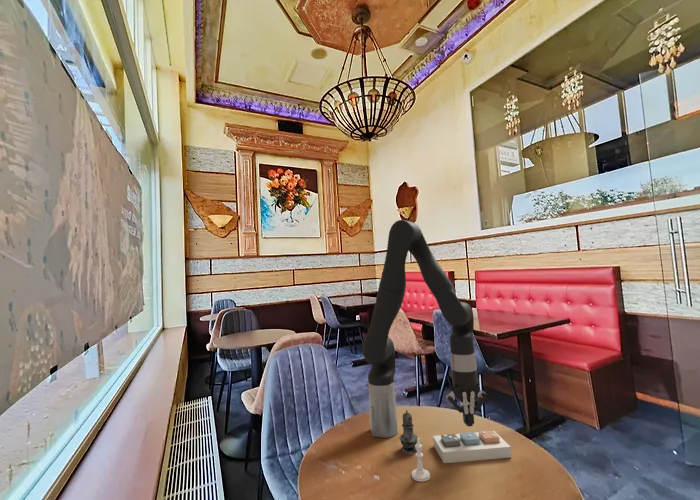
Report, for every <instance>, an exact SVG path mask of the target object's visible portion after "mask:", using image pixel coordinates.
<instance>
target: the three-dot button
mask: <svg viewBox="0 0 700 500" xmlns="http://www.w3.org/2000/svg"><path fill="white" fill-rule="evenodd" d="M455 434H456V433H447V434H446V433H445V434H440V435H441V442H442V443H443V445H444V446H445V448H447V447H458V446H460V440H459V439H458V437H457V436H456V435H455Z"/></svg>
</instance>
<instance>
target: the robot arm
mask: <svg viewBox="0 0 700 500" xmlns="http://www.w3.org/2000/svg"><path fill="white" fill-rule="evenodd" d="M387 237H388V239H387V246H386V255H385V259H384V263H383V268H382V273H381V278H380V281H379V286H378V289H377V294H376V298H375V302H374V303H375V304H374V307H373V311H372V317H371V321H370V325H369V327H368V331H367V334H366V336H365V339H364V342H363V345H362V355H363V358H364V360H365V361H366V362H367V364H368V365H371V368H370V370H369V372H368V375H367V380H368V381H367V382H368V383H367V384H368V396H369V398H368V400H369V401H368V408H369V410H368V411H369V425H370V431H371V437H377V438H382V439H383V438H384V439H385V438H386V439H387V438H391V437H394V436H396V435H397V434H398V433H399V431H398V430H399V429H398V418H397V417H398V416H397V414H398V413H397V404H396V403H397V402H396V388H395V373H396V349H395V344H394V341H393V340H392V338H391V337H390V336H389V334H390V330H391V327H392V325H393V323H394V322H395V320H396V318H397V316H398V314H399V312H400V309H401V308H402V306H403V301H404V297H405V294H406V289H407V278H406V277H407V276H406V261H407V256H408V252H409V253H410V254H411V255H412V257H413V258H414V260H415V261H416V264H417V266H418V268H419V271H420V273H421V276H422V278H423V280H424V282H425V285H426V286H427V287H428V289H429V291H430V292H431V294H432V295H433V297H434V298H435V299H436V302H437V305H438V307H439V310H440V312H441V314H442V316H443V318H444V319H445V321H446V322H447V323H448V324H450V325H451V326H452V328H451V329H452V331H451V334H450V336H449V345H450V346H449V347H450V367H451V370H450V371H451V378H452V379H451V381H452V387H451V391H450V392H449V393H446V394H445V398H446V399H447V400H448V402H450V404H451V405H452V406H453V407H454V408H455V409H456V410H457V411H458V413H459V414H462V419H463V423H464V424H465V425H466V426H467V427H468V428H469V427H473V426H474V424H475V415H474V413H475V412H480V410H481V408H482V407H483V404H484V403H485V402H486V399H487V398H488V394H487V393H486V391H483V390H481V388H480V386H479V380H478V379H479V378H478V376H479V375H478V369H477V368H478V365H477V359H476V355H475V354H476V353H475V344H474V339H473V338H474V336H473V335H474V317H475V316H474V312H473V309H472V306H470V304H469V303H467V302H464V301H460V300H459V298H458V296H457V295H456V288H455V286H454V284H453V283H452V281H451V280H450V279H449V277H448V276H447V274H446V273H445V271H444V270H443V268H442V267H441V265H440V264H439V262H438V261H437V259H436V258H435V256H434V254H433V252H432V251H431V249H430V246H429V244H428V242H427V241H426V238H425V236H424V234H423V232H422V229H421V228H420V226H419V225H418V224H417V223H415V222H413V221H409V220H405V219H399V220H396V221H395V222H394V223H393V224H392V225H391V227H390V229H389V233H388V236H387ZM456 398H457V399H458V400H459V404H460V405H459V404H458V403H457V401H456Z"/></svg>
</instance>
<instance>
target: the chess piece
mask: <svg viewBox="0 0 700 500" xmlns="http://www.w3.org/2000/svg"><path fill="white" fill-rule="evenodd" d="M420 442H421V439H420V437H418V438H417V444H416V445H415V448H416V450H417V453H414V454H415V456H416V457H417V467H416V468H415V469H413V470H412V472H411V479H412V480H414V481H416V482H428V481H429V480H430V479H431V473H430V471H429V470H427V469H424V465H423V460H422V457H424V453H423V452H422V451H423V444H421V443H420Z"/></svg>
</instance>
